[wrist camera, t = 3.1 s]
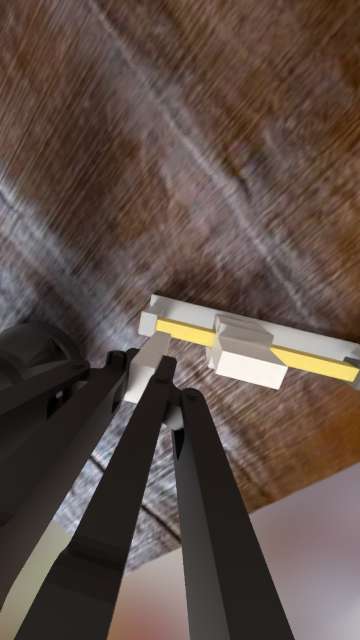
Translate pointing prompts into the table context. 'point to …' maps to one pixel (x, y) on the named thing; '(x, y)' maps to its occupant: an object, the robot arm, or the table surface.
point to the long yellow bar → (347, 370)
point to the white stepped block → (244, 352)
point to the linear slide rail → (282, 333)
